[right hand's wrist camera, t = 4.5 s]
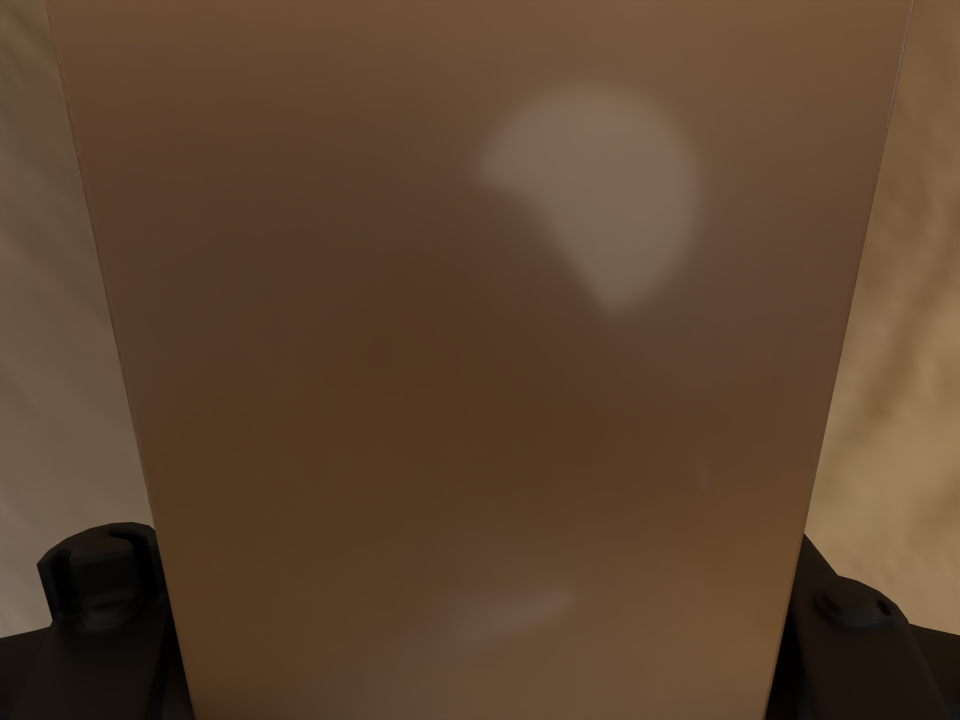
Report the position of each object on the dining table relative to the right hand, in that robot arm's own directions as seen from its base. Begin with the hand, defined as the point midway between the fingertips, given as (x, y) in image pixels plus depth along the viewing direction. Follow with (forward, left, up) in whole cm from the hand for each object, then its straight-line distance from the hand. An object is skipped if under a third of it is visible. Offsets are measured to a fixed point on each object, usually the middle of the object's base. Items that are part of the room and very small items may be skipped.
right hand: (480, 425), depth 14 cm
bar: (+3, +10, -1) cm, 10 cm away
